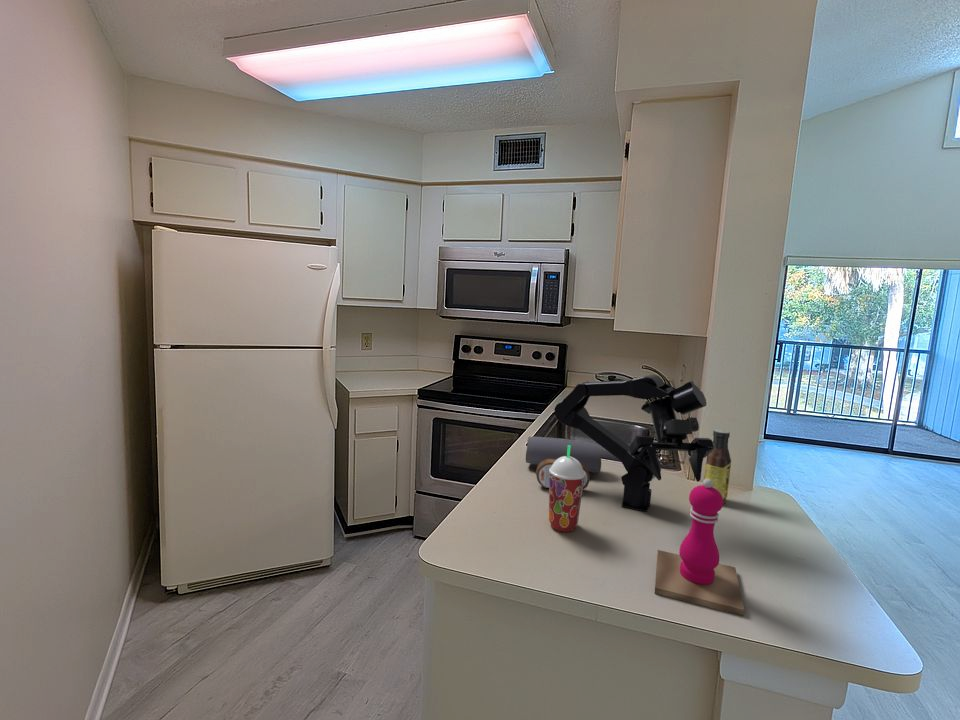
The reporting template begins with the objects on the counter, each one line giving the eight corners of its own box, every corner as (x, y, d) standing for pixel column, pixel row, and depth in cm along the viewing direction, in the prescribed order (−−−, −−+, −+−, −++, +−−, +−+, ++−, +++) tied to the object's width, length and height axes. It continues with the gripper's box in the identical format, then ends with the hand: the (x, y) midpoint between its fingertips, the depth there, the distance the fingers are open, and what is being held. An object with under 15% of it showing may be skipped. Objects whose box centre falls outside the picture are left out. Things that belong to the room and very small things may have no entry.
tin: (588, 489, 141) (590, 461, 140) (589, 494, 138) (591, 465, 137) (535, 484, 143) (537, 456, 141) (535, 489, 139) (537, 460, 138)
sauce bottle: (729, 506, 134) (738, 436, 131) (704, 503, 135) (713, 433, 132) (722, 497, 141) (731, 429, 138) (699, 494, 142) (707, 427, 139)
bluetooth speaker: (599, 470, 157) (602, 439, 156) (599, 480, 148) (602, 448, 147) (528, 460, 162) (530, 431, 161) (524, 470, 153) (526, 439, 152)
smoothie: (584, 523, 120) (591, 444, 117) (575, 538, 113) (582, 454, 110) (550, 515, 124) (556, 437, 121) (540, 529, 116) (546, 447, 113)
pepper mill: (678, 561, 103) (689, 469, 100) (717, 572, 100) (729, 477, 97) (675, 579, 96) (686, 481, 93) (716, 590, 93) (729, 489, 90)
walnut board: (654, 593, 93) (655, 587, 93) (657, 555, 107) (658, 549, 107) (743, 616, 88) (744, 609, 88) (734, 572, 102) (735, 567, 102)
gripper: (638, 402, 117) (651, 464, 108) (715, 405, 118) (735, 467, 109) (624, 425, 126) (635, 484, 117) (696, 428, 127) (712, 486, 117)
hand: (679, 480), depth 115 cm, fingers open, 9 cm apart
